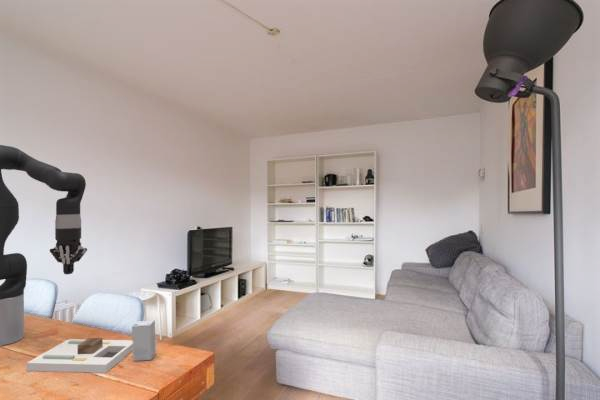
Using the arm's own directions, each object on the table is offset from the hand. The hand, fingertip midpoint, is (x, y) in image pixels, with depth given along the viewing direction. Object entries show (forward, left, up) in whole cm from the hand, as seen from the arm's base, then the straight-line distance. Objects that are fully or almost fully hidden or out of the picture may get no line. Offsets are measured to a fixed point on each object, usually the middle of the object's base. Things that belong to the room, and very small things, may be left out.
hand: (68, 273), depth 108 cm
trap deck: (+12, -7, -27) cm, 30 cm away
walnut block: (+13, -7, -24) cm, 29 cm away
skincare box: (+32, -6, -27) cm, 42 cm away
